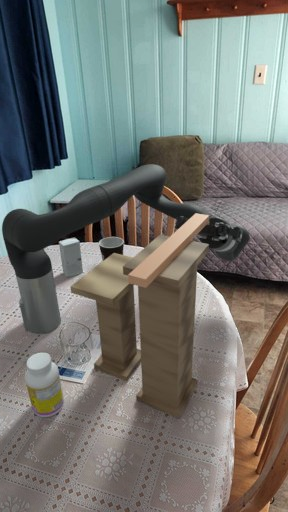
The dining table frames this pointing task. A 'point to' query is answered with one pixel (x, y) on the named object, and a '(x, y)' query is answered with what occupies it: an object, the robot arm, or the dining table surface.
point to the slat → (167, 251)
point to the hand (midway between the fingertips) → (199, 224)
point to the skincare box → (71, 257)
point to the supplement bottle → (44, 385)
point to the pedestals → (148, 323)
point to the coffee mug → (111, 246)
